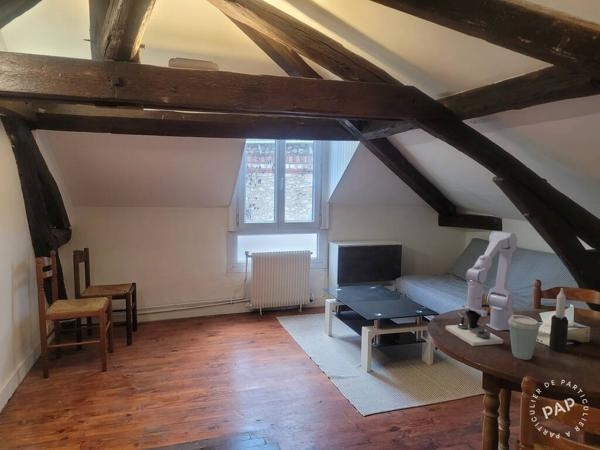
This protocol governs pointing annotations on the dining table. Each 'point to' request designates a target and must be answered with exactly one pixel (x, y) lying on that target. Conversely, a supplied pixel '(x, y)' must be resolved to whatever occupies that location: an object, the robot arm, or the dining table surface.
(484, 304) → the ammunition clip
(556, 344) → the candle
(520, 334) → the disposable coffee cup
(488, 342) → the base
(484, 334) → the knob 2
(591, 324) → the dining table surface
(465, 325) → the knob
